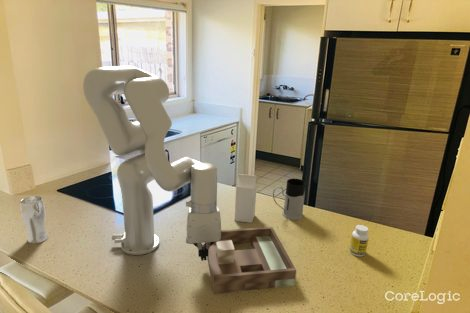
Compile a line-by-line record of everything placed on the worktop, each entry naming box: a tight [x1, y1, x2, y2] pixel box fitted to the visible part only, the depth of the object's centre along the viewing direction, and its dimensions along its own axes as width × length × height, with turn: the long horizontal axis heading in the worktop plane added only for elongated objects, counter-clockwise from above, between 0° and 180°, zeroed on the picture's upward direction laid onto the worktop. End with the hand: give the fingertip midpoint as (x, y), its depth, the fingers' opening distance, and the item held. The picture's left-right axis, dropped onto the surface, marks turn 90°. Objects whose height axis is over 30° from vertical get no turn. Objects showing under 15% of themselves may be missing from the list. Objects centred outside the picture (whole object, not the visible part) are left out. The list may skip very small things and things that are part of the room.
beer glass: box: [19, 195, 49, 245], centre depth 111 cm, size 7×7×15 cm
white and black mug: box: [272, 178, 307, 221], centre depth 134 cm, size 9×14×15 cm, turn 107°
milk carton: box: [234, 173, 258, 224], centre depth 130 cm, size 7×7×19 cm
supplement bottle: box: [348, 224, 370, 257], centre depth 112 cm, size 5×5×10 cm
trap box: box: [206, 226, 297, 295], centre depth 104 cm, size 24×24×6 cm
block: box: [216, 240, 235, 264], centre depth 102 cm, size 5×5×5 cm
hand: (203, 257), depth 101 cm, fingers closed
